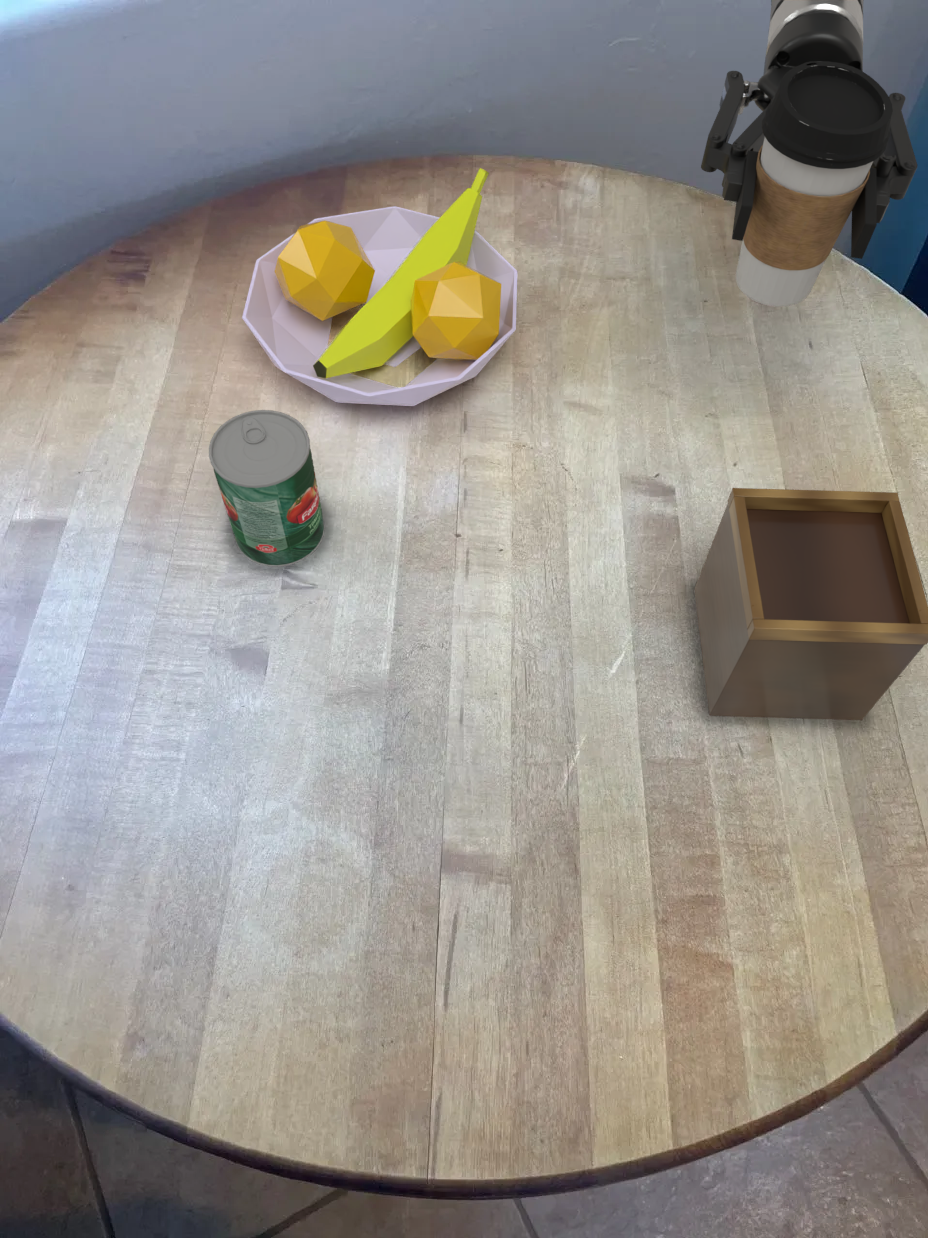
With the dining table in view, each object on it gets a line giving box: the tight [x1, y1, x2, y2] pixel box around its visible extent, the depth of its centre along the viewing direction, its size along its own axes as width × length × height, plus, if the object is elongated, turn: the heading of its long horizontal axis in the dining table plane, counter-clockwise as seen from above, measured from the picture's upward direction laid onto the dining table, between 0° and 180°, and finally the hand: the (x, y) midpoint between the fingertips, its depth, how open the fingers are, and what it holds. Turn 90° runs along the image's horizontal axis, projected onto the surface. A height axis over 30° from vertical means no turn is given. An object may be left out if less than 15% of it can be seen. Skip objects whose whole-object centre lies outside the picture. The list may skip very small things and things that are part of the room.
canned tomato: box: [208, 409, 326, 568], centre depth 80 cm, size 8×8×11 cm
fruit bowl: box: [241, 167, 518, 407], centre depth 93 cm, size 28×27×11 cm
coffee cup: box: [735, 61, 893, 308], centre depth 69 cm, size 8×8×15 cm
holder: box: [693, 487, 928, 721], centre depth 73 cm, size 12×12×14 cm
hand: (802, 231), depth 66 cm, fingers closed on coffee cup, 8 cm apart
